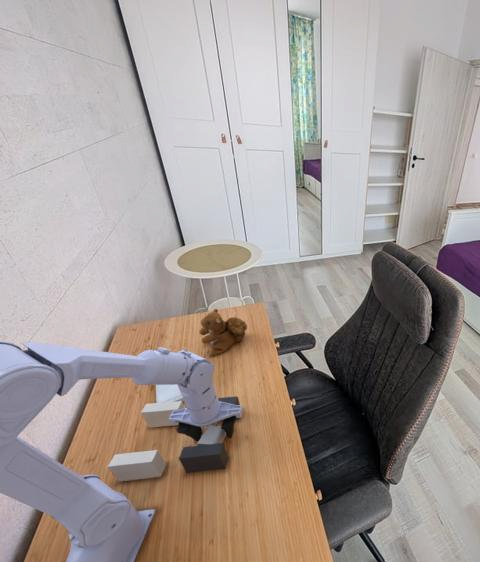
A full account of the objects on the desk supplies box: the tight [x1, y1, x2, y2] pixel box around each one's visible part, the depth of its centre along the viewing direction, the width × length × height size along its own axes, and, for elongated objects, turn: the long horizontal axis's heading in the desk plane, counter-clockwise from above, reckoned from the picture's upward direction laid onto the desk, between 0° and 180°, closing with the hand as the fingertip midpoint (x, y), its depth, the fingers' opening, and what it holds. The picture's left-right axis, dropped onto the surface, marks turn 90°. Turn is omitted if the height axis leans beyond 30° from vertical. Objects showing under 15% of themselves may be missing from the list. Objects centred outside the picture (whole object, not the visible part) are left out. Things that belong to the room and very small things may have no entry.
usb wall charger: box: [196, 421, 227, 446], centre depth 67 cm, size 4×7×4 cm, turn 178°
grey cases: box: [178, 395, 241, 474], centre depth 67 cm, size 14×8×6 cm, turn 9°
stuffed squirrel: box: [198, 308, 248, 357], centre depth 93 cm, size 10×14×13 cm
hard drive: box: [155, 384, 185, 403], centre depth 79 cm, size 2×8×12 cm
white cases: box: [107, 401, 186, 482], centre depth 65 cm, size 14×8×6 cm, turn 9°
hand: (215, 435), depth 68 cm, fingers open, 6 cm apart
